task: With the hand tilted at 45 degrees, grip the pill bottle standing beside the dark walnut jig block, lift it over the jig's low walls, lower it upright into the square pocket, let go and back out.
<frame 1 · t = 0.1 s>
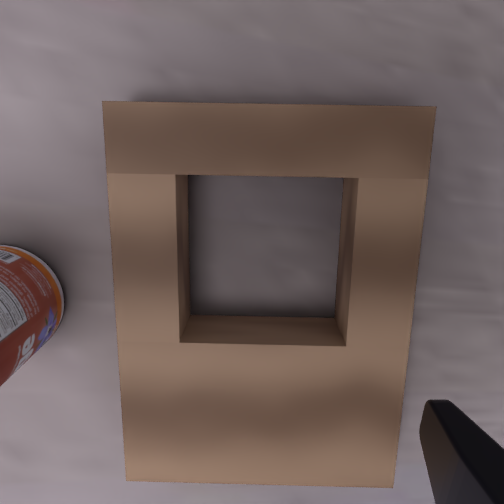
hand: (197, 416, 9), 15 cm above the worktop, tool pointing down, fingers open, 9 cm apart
walnut jig: (263, 246, 24), on the worktop
pill bottle: (14, 294, 25), on the worktop
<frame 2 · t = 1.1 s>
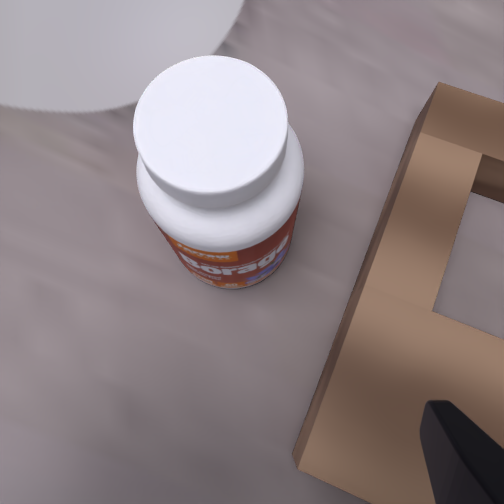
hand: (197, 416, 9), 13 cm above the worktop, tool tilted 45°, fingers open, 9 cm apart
pill bottle: (234, 235, 24), on the worktop
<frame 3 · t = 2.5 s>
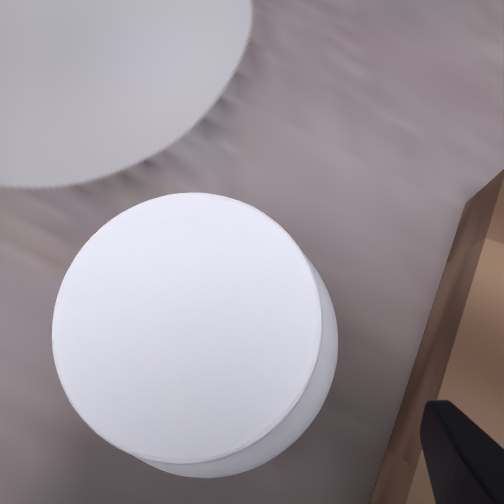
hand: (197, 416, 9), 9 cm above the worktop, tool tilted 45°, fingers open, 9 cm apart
pill bottle: (231, 356, 18), on the worktop
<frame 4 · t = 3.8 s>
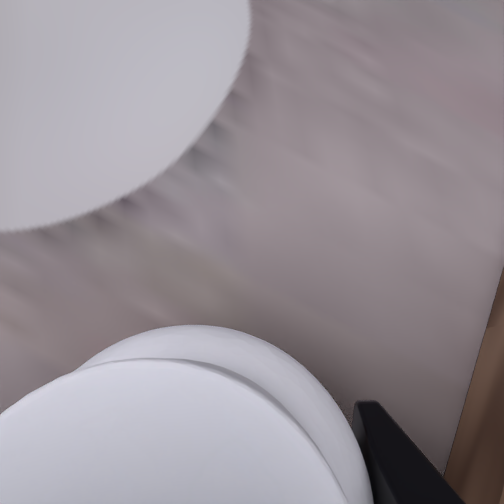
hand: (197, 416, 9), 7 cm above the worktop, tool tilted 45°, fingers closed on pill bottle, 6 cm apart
pill bottle: (225, 445, 15), on the worktop, touching gripper
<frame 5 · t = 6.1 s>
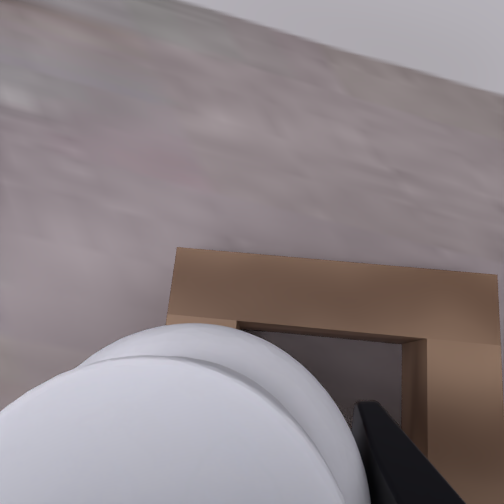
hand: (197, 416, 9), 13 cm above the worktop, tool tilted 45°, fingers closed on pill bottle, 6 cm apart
walnut jig: (315, 421, 21), on the worktop
pill bottle: (224, 443, 15), point 6 cm above the worktop, touching gripper
when the fingers open (8 cm above the worktop, at t = 8.2 s): pill bottle drops 1 cm, resting in walnut jig.
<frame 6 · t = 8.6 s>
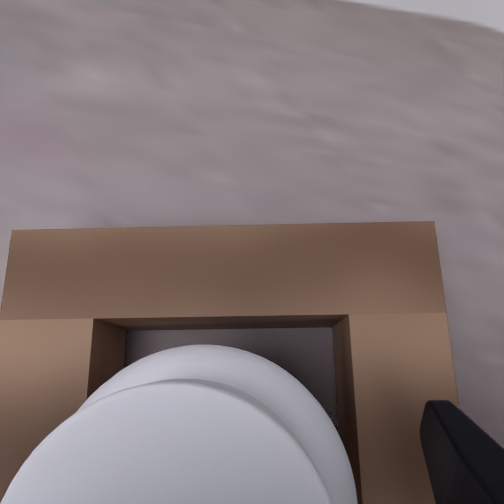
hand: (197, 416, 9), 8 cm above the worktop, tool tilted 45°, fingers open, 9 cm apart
walnut jig: (228, 439, 16), on the worktop
pill bottle: (229, 445, 16), resting in walnut jig
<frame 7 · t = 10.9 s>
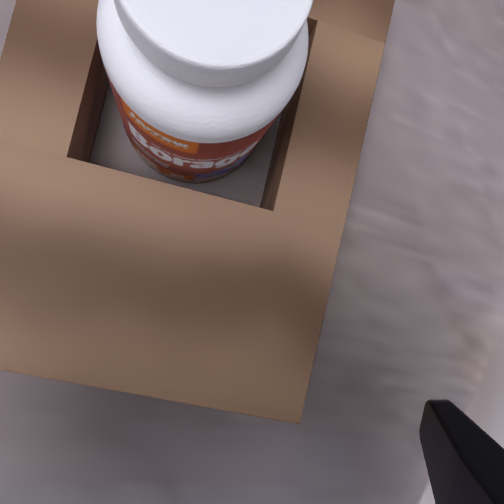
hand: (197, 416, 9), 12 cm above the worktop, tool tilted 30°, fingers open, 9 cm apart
walnut jig: (194, 114, 21), on the worktop
pill bottle: (193, 119, 21), resting in walnut jig
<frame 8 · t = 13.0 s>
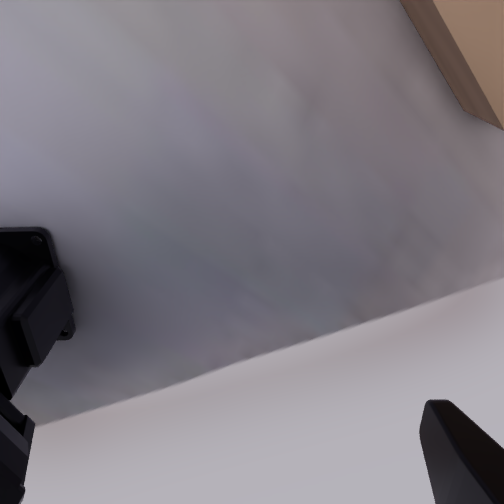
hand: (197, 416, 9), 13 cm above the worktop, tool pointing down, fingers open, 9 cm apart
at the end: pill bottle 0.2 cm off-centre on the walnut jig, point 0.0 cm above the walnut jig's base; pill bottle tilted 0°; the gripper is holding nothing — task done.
